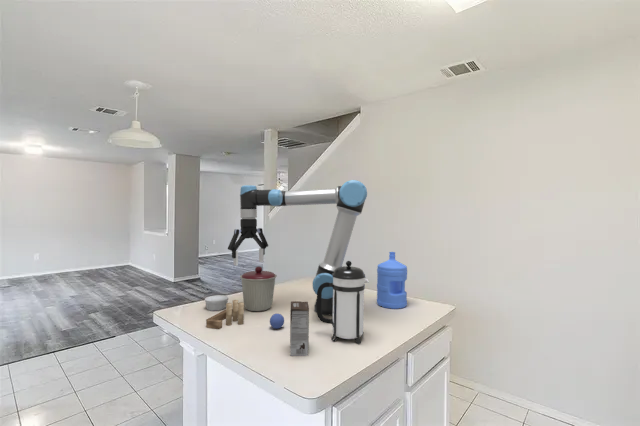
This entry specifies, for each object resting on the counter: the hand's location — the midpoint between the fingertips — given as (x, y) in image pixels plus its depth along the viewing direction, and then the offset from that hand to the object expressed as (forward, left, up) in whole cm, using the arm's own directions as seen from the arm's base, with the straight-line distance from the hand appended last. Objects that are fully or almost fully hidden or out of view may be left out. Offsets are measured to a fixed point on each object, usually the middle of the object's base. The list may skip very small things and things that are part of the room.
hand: (248, 263), depth 149 cm
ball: (-20, +11, -21) cm, 31 cm away
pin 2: (+2, +9, -24) cm, 26 cm away
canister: (0, -11, -24) cm, 27 cm away
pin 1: (+2, +14, -24) cm, 28 cm away
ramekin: (+20, -5, -25) cm, 32 cm away
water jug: (-64, -39, -24) cm, 78 cm away
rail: (+6, +11, -24) cm, 27 cm away
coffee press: (-49, +12, -24) cm, 56 cm away
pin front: (-3, +11, -24) cm, 27 cm away
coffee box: (-36, +28, -24) cm, 52 cm away
